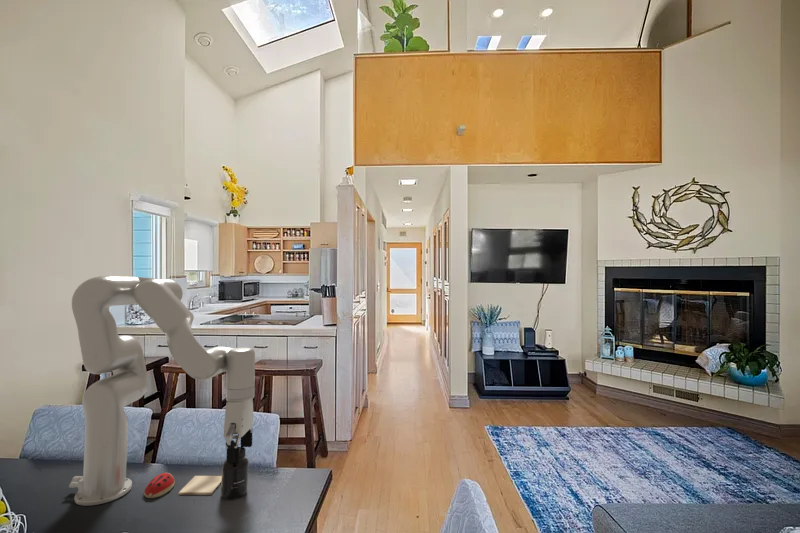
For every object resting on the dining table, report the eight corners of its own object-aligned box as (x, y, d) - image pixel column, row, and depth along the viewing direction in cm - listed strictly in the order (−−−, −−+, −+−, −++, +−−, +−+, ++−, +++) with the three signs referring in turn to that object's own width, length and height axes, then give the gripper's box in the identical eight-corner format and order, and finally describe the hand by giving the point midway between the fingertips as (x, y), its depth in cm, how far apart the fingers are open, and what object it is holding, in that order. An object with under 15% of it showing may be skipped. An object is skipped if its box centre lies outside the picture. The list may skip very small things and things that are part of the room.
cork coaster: (178, 494, 106) (178, 492, 106) (194, 477, 115) (195, 475, 115) (211, 494, 106) (211, 492, 106) (225, 477, 115) (225, 475, 115)
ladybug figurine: (179, 481, 113) (180, 468, 114) (164, 500, 104) (164, 486, 104) (155, 482, 112) (155, 470, 113) (137, 501, 103) (137, 488, 103)
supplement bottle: (237, 502, 103) (239, 456, 103) (215, 498, 104) (217, 454, 105) (252, 488, 110) (254, 446, 110) (231, 485, 111) (232, 443, 111)
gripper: (238, 384, 117) (238, 441, 116) (213, 402, 99) (212, 469, 99) (263, 384, 117) (263, 441, 116) (242, 402, 99) (241, 469, 99)
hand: (239, 454), depth 107 cm, fingers open, 9 cm apart
